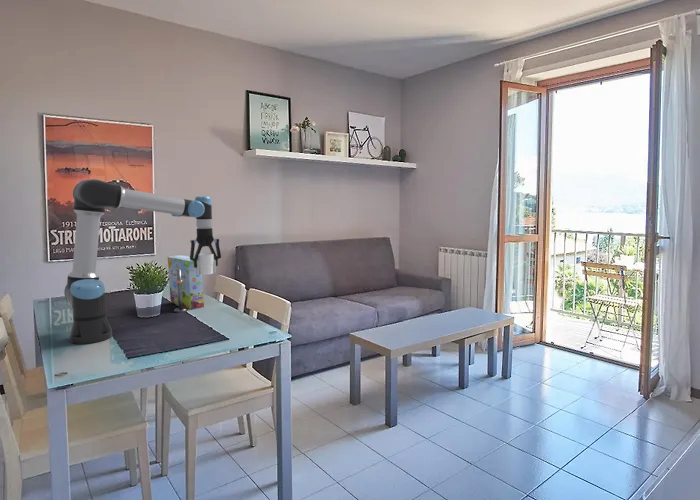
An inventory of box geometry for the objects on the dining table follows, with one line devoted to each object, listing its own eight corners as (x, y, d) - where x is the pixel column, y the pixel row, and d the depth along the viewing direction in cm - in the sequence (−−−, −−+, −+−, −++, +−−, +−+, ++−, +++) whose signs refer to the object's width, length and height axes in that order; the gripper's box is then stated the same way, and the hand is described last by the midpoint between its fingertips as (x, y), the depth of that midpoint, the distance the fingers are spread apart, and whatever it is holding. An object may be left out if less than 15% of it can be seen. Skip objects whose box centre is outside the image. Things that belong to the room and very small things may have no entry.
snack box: (168, 303, 244) (166, 256, 241) (183, 300, 250) (181, 254, 247) (190, 309, 230) (187, 259, 227) (205, 306, 236) (203, 258, 233)
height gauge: (188, 311, 226) (186, 270, 224) (175, 313, 223) (173, 271, 221) (185, 309, 231) (183, 268, 229) (173, 310, 228) (171, 269, 226)
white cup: (217, 273, 227) (217, 253, 226) (205, 275, 221) (204, 255, 220) (207, 272, 232) (206, 252, 230) (194, 274, 225) (193, 254, 224)
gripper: (222, 226, 232) (224, 270, 235) (181, 228, 221) (183, 274, 224) (227, 227, 226) (228, 272, 228) (184, 229, 215) (186, 276, 218)
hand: (206, 273), depth 226 cm, fingers closed on white cup, 8 cm apart
